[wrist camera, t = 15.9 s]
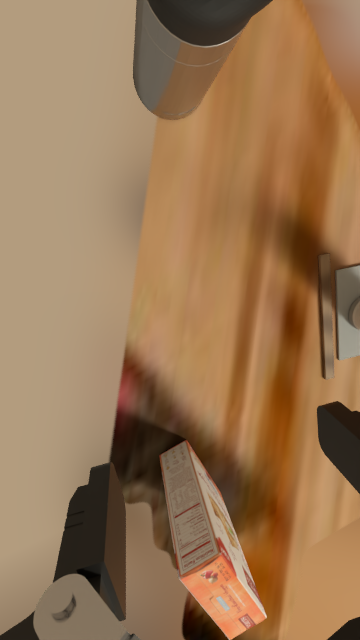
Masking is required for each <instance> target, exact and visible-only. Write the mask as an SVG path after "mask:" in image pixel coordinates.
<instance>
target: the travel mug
mask: <svg viewBox="0 0 360 640" xmlns="http://www.w3.org/2000/svg"><path fill="white" fill-rule="evenodd" d="M349 321H350V323H351V325H352V326H353V327H354V328H356V329H358V330H360V297H359V298H357V299H356V300H355V301H354V302H353V304H352V305H351V307H350V310H349Z"/></svg>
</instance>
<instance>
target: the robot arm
mask: <svg viewBox="0 0 360 640" xmlns="http://www.w3.org/2000/svg"><path fill="white" fill-rule="evenodd" d="M271 1H272V0H137V6H136V25H135V44H134V45H135V46H134V62H133V79H134V85H135V88H136V91H137V94H138V96H139V98H140V100H141V101H142V103H143V104H144V105H145V106H146V107H147V109H148V110H149V111H151V112H152V113H153V114H155V115H157V116H159V117H161V118H164V119H169V120H175V119H180V118H184V117H186V116H188V115H189V114H191V113H192V112H193V111H194V110H195V109H196V108H197V107H198V105H199V104H200V102H201V101H202V99H203V97H204V96H205V94H206V92H207V91H208V89H209V88H210V86H211V84H212V83H213V81H214V79H215V77H216V76H217V74H218V72H219V71H220V69H221V67H222V66H223V64H224V62H225V61H226V59H227V57H228V56H229V54H230V52H231V51H232V49H233V47H234V46H235V44H236V42H237V40H238V39H239V37H240V35H241V34H242V32H243V30H244V29H245V27H246V25H247V23H248V22H249V20H250V19H251V17H252V16H253V15H255V14H256V13H257V12H259V11H260V10H262V9H263V8H264V7H265V6H267V5H268V4H269V3H270V2H271ZM317 420H318V437H319V443H320V446H321V448H322V450H323V452H324V454H325V455H326V456H327V457H328V458H329V460H330V461H331V462H332V463H333V464H334V465H335V466H336V468H337V469H338V470H339V471H340V472H341V473H342V474H343V476H344V477H345V478H346V479H347V480H348V481H349V482H350V483H351V485H352V486H353V487H354V488H355V489H356V490H357V491H358V493H359V494H360V412H358V411H353V412H351V411H350V410H349V409H348V408H347V407H345V406H344V405H343V404H342V403H340V402H338V401H336V402H332V403H329V404H325V405H321V406H318V408H317ZM125 517H126V511H125V502H124V497H123V493H122V490H121V486H120V483H119V480H118V477H117V474H116V470H115V467H114V465H113V463H112V462H110V463H106V464H103V465H99V466H96V467H92V468H91V470H90V477H89V483H88V485H84V486H81V487H78V488H77V490H76V492H75V493H74V495H73V497H72V498H71V500H70V503H69V507H68V513H67V519H66V522H65V527H64V528H65V531H64V532H63V537H62V542H61V547H60V551H59V556H58V561H57V566H56V571H55V576H54V580H53V584H52V585H50V587H49V588H48V589H47V590H46V591H45V592H44V594H43V595H42V597H41V598H40V600H39V602H38V604H37V606H36V609H35V611H34V612H33V613H32V614H31V615H30V616H29V617H27V618H26V619H24V620H23V621H22V622H20V623H19V624H17V625H16V626H14V627H13V628H11V629H10V630H8V631H7V632H5V633H4V634H2V635H1V636H0V640H140V639H139V638H138V637H137V636H136V635H135V634H132V635H130V634H129V633H128V632H127V631H126V629H125V628H124V627H123V625H122V624H121V623H120V622H119V621H122V620H125V619H126V593H125V592H126V584H125V583H126V518H125ZM328 640H360V617H358V618H355V619H352V620H349V621H348V622H347V623H346V624H344V625H343V626H342V627H341V628H340V629H339V630H338V631H336V632H335V633H334V634H333V635H332V636H331V637H330V638H328Z"/></svg>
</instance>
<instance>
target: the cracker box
mask: <svg viewBox="0 0 360 640" xmlns="http://www.w3.org/2000/svg"><path fill="white" fill-rule="evenodd" d="M159 457H160V463H161V469H162V476H163V482H164V488H165V495H166V501H167V508H168V514H169V520H170V527H171V533H172V539H173V546H174V552H175V559H176V566H177V571H178V577H179V579H180V580H181V582H182V583H183V584H184V585H185V586H186V588H187V589H188V590H189V591H190V592H191V594H192V595H193V596H194V597H195V599H196V600H197V601H198V602H199V603H200V605H201V606H202V607H203V608H204V609H205V611H206V612H207V613H208V614H209V615H210V617H211V618H212V619H213V620H214V621H215V623H216V624H217V625H218V626H219V627H220V629H221V630H222V631H223V632H224V633H225V635H226V636H227V637H228V639H229V640H231V639H232V638H234V637H236V636H237V635H239V634H241V633H242V632H244V631H245V630H247V629H249V628H251V627H253V626H255V625H256V624H258V623H260V622H262V621H263V620H264V619H266V618H267V616H266V613H265V611H264V608H263V605H262V603H261V600H260V597H259V595H258V592H257V589H256V587H255V584H254V581H253V579H252V576H251V574H250V571H249V568H248V566H247V563H246V560H245V557H244V555H243V552H242V549H241V546H240V544H239V541H238V538H237V536H236V533H235V530H234V528H233V525H232V523H231V520H230V517H229V514H228V512H227V509H226V506H225V503H224V501H223V498H222V495H221V493H220V491H219V489H218V488H217V486H216V485H215V483H214V482H213V480H212V478H211V477H210V475H209V474H208V472H207V471H206V469H205V468H204V466H203V465H202V463H201V461H200V460H199V458H198V457H197V455H196V454H195V452H194V451H193V449H192V447H191V446H190V444H189V443H188V441H187V440H185V441H183V442H181V443H180V444H178V445H176V446H174V447H173V448H171V449H169V450H167V451H166V452H164V453H162V454H161V455H159Z"/></svg>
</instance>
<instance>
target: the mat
mask: <svg viewBox="0 0 360 640" xmlns="http://www.w3.org/2000/svg"><path fill="white" fill-rule="evenodd" d="M335 282H336V314H337V345H338V360H339V361H340V360H343V359H347V358H351V357H355V356H359V355H360V330H358V329H356V328H354V327H353V326H352V325H351V323H350V321H349V310H350V307H351V305H352V304H353V302H354V301H355V300H356V299H357V298H359V297H360V265H357V266H353V267H348V268H344V269H339V270H335Z"/></svg>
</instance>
